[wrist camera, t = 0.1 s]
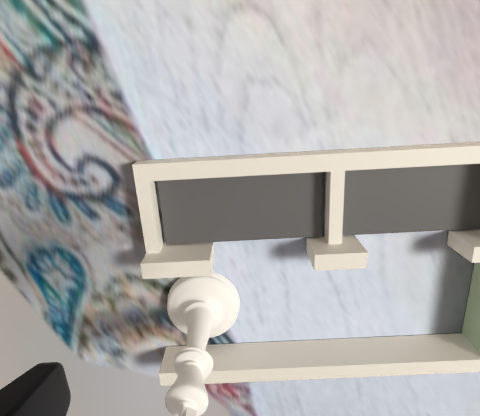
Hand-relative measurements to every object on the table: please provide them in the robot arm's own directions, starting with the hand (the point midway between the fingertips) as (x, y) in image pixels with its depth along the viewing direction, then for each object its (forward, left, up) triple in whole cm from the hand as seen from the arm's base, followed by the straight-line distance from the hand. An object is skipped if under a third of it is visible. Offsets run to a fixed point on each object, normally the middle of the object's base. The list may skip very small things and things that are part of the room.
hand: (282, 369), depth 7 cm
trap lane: (-5, -4, -15) cm, 16 cm away
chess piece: (-8, +4, -15) cm, 17 cm away
